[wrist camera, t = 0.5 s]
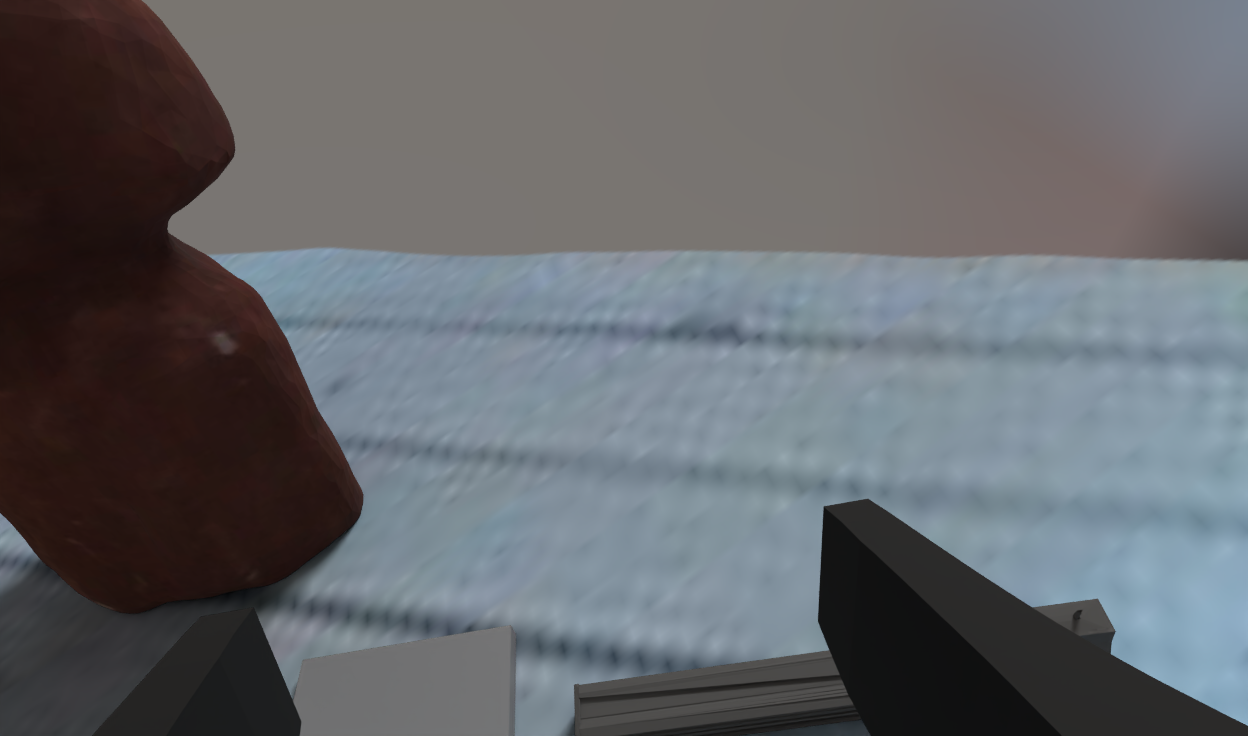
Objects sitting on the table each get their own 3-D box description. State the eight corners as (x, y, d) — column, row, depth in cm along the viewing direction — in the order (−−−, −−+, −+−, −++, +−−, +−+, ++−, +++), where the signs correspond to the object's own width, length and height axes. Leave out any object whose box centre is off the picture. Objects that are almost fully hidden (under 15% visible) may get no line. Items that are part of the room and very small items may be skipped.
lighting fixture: (587, 779, 27) (561, 739, 24) (585, 706, 29) (560, 660, 26) (1108, 710, 26) (1147, 658, 23) (1071, 638, 28) (1102, 582, 25)
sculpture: (380, 616, 39) (433, -14, 26) (-221, 839, 25) (-738, -257, 12) (282, 461, 49) (285, -55, 36) (-191, 562, 35) (-464, -216, 22)
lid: (513, 789, 27) (507, 782, 26) (276, 826, 27) (265, 820, 27) (516, 633, 31) (511, 625, 31) (311, 667, 32) (302, 659, 31)
